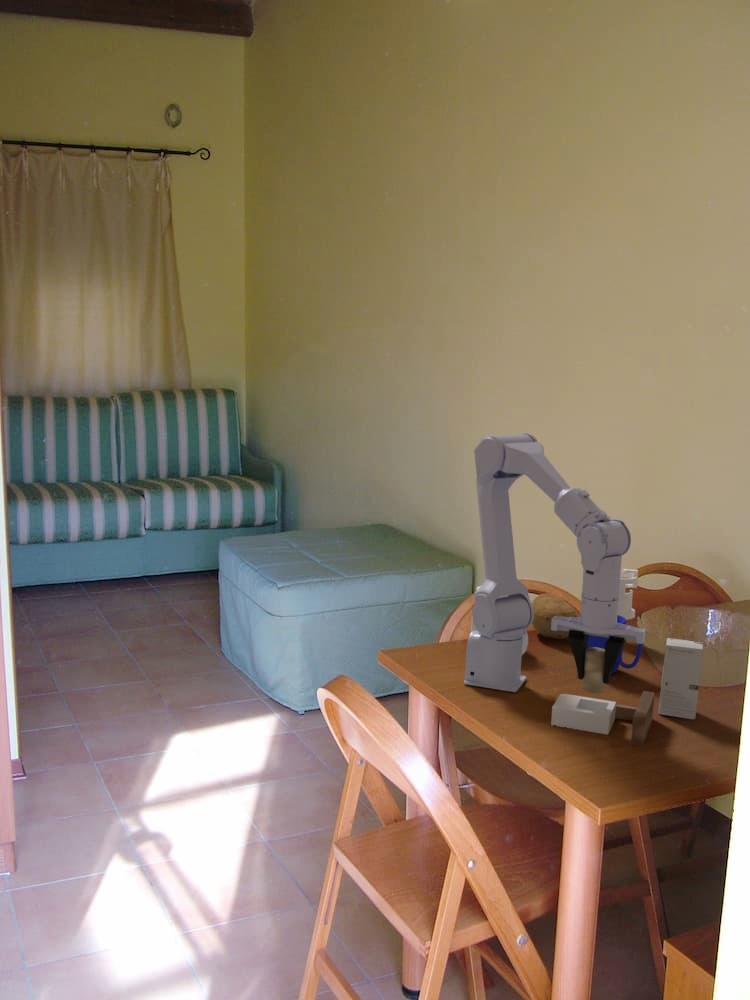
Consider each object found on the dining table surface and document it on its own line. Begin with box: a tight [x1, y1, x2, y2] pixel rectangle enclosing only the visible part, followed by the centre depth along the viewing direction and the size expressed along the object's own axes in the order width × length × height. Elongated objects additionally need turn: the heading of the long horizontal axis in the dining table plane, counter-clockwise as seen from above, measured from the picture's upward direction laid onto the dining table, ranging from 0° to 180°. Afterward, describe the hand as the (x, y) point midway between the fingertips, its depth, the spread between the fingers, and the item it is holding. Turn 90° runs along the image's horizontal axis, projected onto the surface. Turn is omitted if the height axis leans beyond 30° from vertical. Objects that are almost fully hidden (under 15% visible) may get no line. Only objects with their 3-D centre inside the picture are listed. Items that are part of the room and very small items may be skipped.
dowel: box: [582, 647, 606, 694], centre depth 166 cm, size 3×3×6 cm
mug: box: [587, 615, 644, 674], centre depth 192 cm, size 8×12×10 cm
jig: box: [615, 690, 656, 747], centre depth 167 cm, size 15×12×4 cm
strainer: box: [617, 568, 639, 621], centre depth 211 cm, size 7×7×15 cm
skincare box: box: [658, 637, 704, 720], centre depth 173 cm, size 6×4×12 cm
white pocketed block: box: [550, 692, 617, 735], centre depth 168 cm, size 9×7×3 cm
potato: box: [531, 593, 579, 640], centre depth 213 cm, size 10×14×8 cm
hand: (594, 679), depth 167 cm, fingers closed on dowel, 3 cm apart
